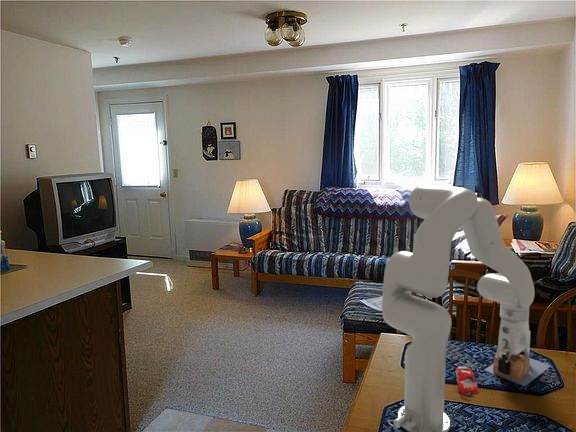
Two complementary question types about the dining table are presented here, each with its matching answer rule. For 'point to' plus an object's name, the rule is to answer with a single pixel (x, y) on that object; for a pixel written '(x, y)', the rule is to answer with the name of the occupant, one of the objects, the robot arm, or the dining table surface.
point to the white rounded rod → (528, 347)
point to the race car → (466, 381)
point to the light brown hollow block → (514, 366)
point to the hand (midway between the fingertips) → (511, 367)
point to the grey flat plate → (534, 371)
